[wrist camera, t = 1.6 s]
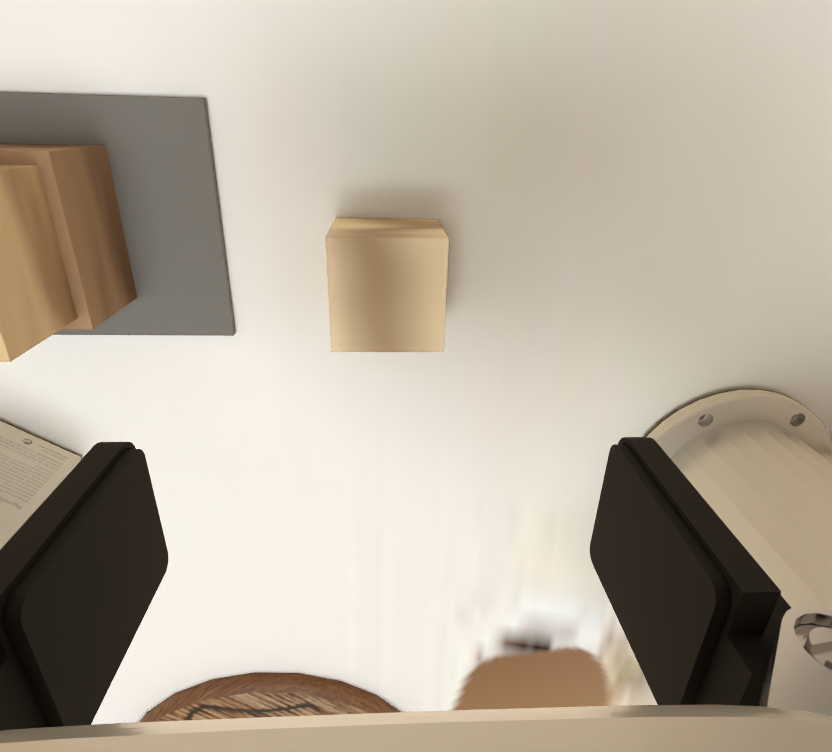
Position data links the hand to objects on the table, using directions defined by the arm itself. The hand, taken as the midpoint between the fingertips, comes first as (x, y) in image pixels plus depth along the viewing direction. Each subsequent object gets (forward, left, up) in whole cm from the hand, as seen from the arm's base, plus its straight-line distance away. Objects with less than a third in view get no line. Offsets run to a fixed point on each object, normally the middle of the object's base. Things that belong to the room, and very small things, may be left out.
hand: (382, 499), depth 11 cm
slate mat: (+16, -2, -18) cm, 24 cm away
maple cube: (0, 0, -18) cm, 18 cm away
